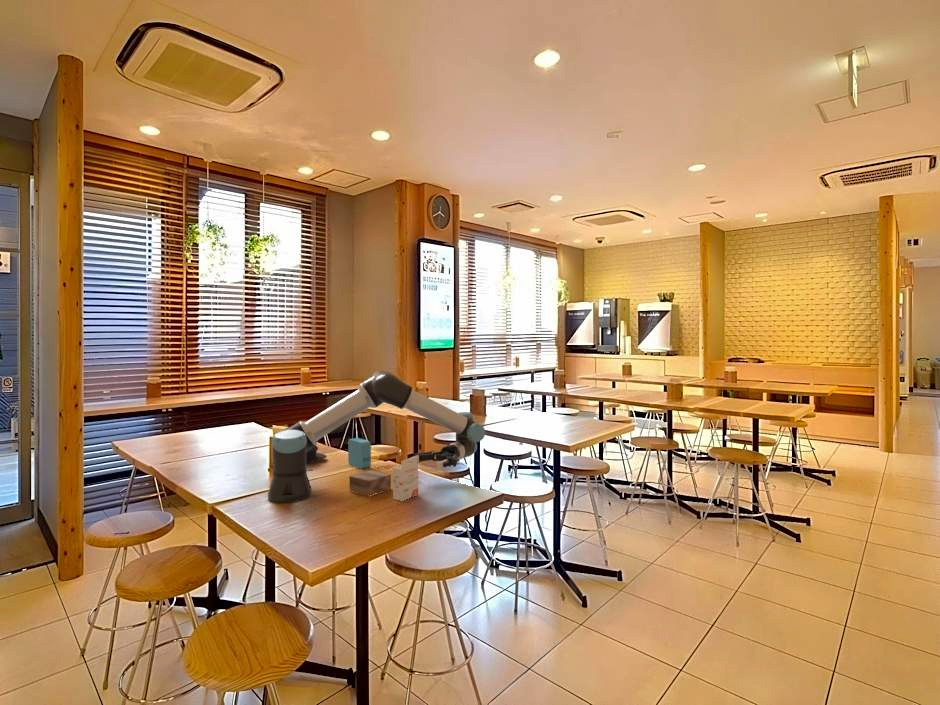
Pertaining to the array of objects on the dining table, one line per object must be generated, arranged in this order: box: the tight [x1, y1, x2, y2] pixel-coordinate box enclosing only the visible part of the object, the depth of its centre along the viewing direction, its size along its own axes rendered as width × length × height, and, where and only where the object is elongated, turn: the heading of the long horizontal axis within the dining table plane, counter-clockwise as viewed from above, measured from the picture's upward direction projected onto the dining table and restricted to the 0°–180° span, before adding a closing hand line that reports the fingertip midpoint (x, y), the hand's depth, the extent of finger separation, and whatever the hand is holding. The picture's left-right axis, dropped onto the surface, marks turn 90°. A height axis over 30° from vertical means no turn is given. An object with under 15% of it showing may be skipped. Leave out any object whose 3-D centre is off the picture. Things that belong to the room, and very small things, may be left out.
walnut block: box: [349, 469, 392, 497], centre depth 191 cm, size 11×11×6 cm
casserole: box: [306, 445, 327, 465], centre depth 232 cm, size 25×19×8 cm
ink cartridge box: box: [392, 457, 419, 502], centre depth 182 cm, size 9×5×15 cm, turn 143°
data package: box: [347, 437, 372, 470], centre depth 226 cm, size 12×4×12 cm, turn 44°
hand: (422, 464), depth 191 cm, fingers open, 13 cm apart
